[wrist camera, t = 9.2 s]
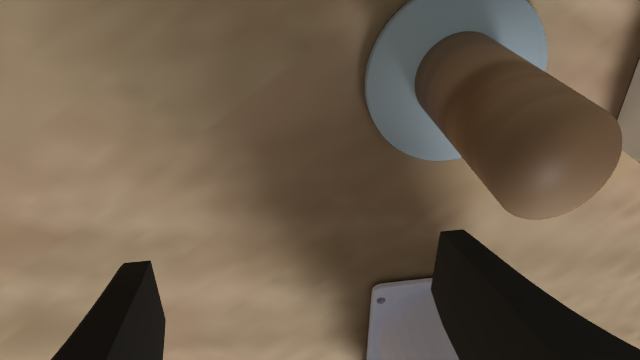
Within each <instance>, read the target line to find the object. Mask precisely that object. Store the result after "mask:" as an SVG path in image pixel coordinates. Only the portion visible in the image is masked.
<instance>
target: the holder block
mask: <svg viewBox="0 0 640 360" xmlns="http://www.w3.org/2000/svg"><path fill="white" fill-rule="evenodd" d="M617 122H618V124H619V126H620V129H621V132H622V151H624V152H625V153H626V154H628V155H629V156H631V157H632V158H634V159H635V160H636V161H638V162H639V163H640V59H639V62H638V65H637V67H636V70H635V73H634V76H633V78H632V81H631V84H630V86H629V89H628V92H627V95H626V97H625V100H624V103H623V106H622V108H621V111H620V114H619V117H618V119H617Z"/></svg>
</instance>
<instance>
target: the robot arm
mask: <svg viewBox="0 0 640 360" xmlns="http://www.w3.org/2000/svg"><path fill="white" fill-rule="evenodd" d="M381 297H382V298H381ZM379 298H381V299H379ZM164 335H165V316H164V312H163V308H162V304H161V300H160V296H159V292H158V288H157V284H156V280H155V276H154V272H153V268H152V264H151V261H141V262H131V263H124V264H123V265H122V266H121V267H120V268H119V270H118V271H117V273H116V274H115V275H114V277H113V278H112V280H111V281H110V283H109V284H108V286H107V287H106V288H105V290H104V291H103V293H102V294H101V296H100V297H99V298H98V300H97V301H96V303H95V304H94V305H93V307H92V308H91V309H90V311H89V312H88V313H87V315H86V316H85V317H84V319H83V320H82V321H81V323H80V324H79V325H78V327H77V328H76V329H75V331H74V332H73V333H72V335H71V336H70V337H69V338H68V340H67V341H66V342H65V343H64V345H63V346H62V347H61V348H60V349H59V351H58V352H57V353H56V354H55V355H54V357H53V358H52V359H51V360H163V349H164ZM366 360H640V349H638V348H636V347H634V346H632V345H630V344H628V343H626V342H625V341H623V340H621V339H619V338H617V337H616V336H614V335H612V334H610V333H609V332H607V331H605V330H604V329H602V328H600V327H598V326H597V325H595V324H593V323H592V322H590V321H588V320H587V319H585V318H583V317H582V316H580V315H579V314H577V313H575V312H574V311H572V310H571V309H569V308H568V307H566V306H565V305H563V304H562V303H560V302H559V301H557V300H556V299H554V298H553V297H552V296H550V295H549V294H547V293H546V292H544V291H543V290H542V289H540V288H539V287H537V286H536V285H535V284H533V283H532V282H530V281H529V280H528V279H526V278H525V277H524V276H522V275H521V274H520V273H518V272H517V271H516V270H515V269H513V268H512V267H511V266H509V265H508V264H507V263H505V262H504V261H503V260H502V259H500V258H499V257H498V256H497V255H495V254H494V253H493V252H492V251H490V250H489V249H488V248H486V247H485V246H484V245H483V244H481V243H480V242H479V241H478V240H476V239H475V238H474V237H473V236H471V235H470V234H469V233H467V232H466V231H465V230H453V231H443V232H440V238H439V243H438V249H437V255H436V261H435V267H434V273H433V278H426V279H417V280H408V281H399V282H390V283H381V284H377V285H376V286H374V287H373V289H372V294H371V307H370V319H369V332H368V344H367V357H366Z"/></svg>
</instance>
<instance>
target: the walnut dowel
mask: <svg viewBox="0 0 640 360" xmlns="http://www.w3.org/2000/svg"><path fill="white" fill-rule="evenodd" d="M415 94H416V98H417V100H418V102H419V104H420V106H421V107H422V108H423V110H424V111H425V112H426V113H427V115H428V116H429V117H430V118H431V120H432V121H433V122H434V123H435V124H436V126H437V127H438V128H439V129H440V131H441V132H442V133H443V134H444V135H445V137H446V138H447V139H448V140H449V142H450V143H451V144H452V145H453V147H454V148H455V149H456V150H457V151H458V153H459V154H460V155H461V156H462V158H463V159H464V160H465V161H466V162H467V164H468V165H469V166H470V167H471V169H472V170H473V171H474V172H475V174H476V175H477V176H478V177H479V178H480V180H481V181H482V182H483V183H484V185H485V186H486V187H487V188H488V190H489V191H490V192H491V193H492V194H493V196H494V197H495V198H496V199H497V201H498V202H499V203H500V204H501V205H502V207H503V208H504V209H505V210H506V211H508V212H509V213H511V214H512V215H514V216H517V217H519V218H524V219H531V220H541V219H548V218H552V217H556V216H559V215H562V214H565V213H567V212H569V211H571V210H573V209H575V208H577V207H579V206H580V205H582V204H583V203H585V202H586V201H587V200H589V199H590V198H591V197H592V196H594V195H595V194H596V193H597V192H598V191H599V190H600V189H601V188H602V187H603V185H604V184H605V183H606V182H607V180H608V179H609V178H610V176H611V175H612V173H613V171H614V170H615V168H616V166H617V163H618V161H619V158H620V155H621V150H622V132H621V129H620V126H619V124H618V122H617V120H616V119H615V118H614V117H613V115H611V114H610V113H609V112H608V111H606V110H605V109H603V108H602V107H600V106H598V105H597V104H595V103H594V102H592V101H590V100H589V99H587V98H586V97H584V96H582V95H581V94H579V93H578V92H576V91H575V90H573V89H571V88H570V87H568V86H567V85H565V84H563V83H562V82H560V81H559V80H557V79H556V78H554V77H552V76H551V75H549V74H548V73H546V72H544V71H543V70H541V69H540V68H538V67H536V66H535V65H533V64H532V63H530V62H529V61H527V60H525V59H524V58H522V57H521V56H519V55H517V54H516V53H514V52H513V51H511V50H510V49H508V48H506V47H505V46H503V45H502V44H500V43H498V42H497V41H495V40H494V39H492V38H491V37H489V36H487V35H485V34H483V33H480V32H475V31H463V32H458V33H454V34H452V35H449V36H447V37H445V38H443V39H442V40H440V41H439V42H437V43H436V44H435V45H434V46H433V47H432V48H431V49H430V50H429V51H428V52H427V53H426V55H425V56H424V57H423V59H422V61H421V62H420V64H419V67H418V69H417V72H416V76H415Z"/></svg>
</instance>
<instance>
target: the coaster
mask: <svg viewBox="0 0 640 360" xmlns="http://www.w3.org/2000/svg"><path fill="white" fill-rule="evenodd" d="M463 31H475V32H480V33H483V34H485V35H487V36H489V37H491V38H492V39H494V40H495V41H497V42H498V43H500V44H502V45H503V46H505V47H506V48H508V49H510V50H511V51H513V52H514V53H516V54H517V55H519V56H521V57H522V58H524V59H525V60H527V61H529V62H530V63H532V64H533V65H535V66H536V67H538V68H540V69H541V70H543V71H544V72H545V70H546V65H547V40H546V35H545V31H544V28H543V25H542V22H541V20H540V18H539V16H538V15H537V13H536V11H535V10H534V9H533V7H532V6H531V5H530V4H529V3H528V1H526V0H410V1H408V2H407V3H406V4H405V5H404V6H402V7H401V8H400V9H399V10H398V11H397V12H396V13H395V14H394V15H393V16H392V17H391V19H390V20H389V21H388V22H387V23H386V25H385V26H384V28H383V29H382V31H381V32H380V34H379V35H378V37H377V39H376V41H375V43H374V45H373V47H372V50H371V53H370V55H369V58H368V62H367V66H366V72H365V80H364V85H365V98H366V103H367V107H368V110H369V113H370V115H371V117H372V119H373V121H374V123H375V125H376V127H377V128H378V130H379V131H380V133H381V134H382V136H383V137H384V138H385V139H386V140H387V141H388V142H389V143H390V144H391V145H392V146H394V147H395V148H396V149H398V150H399V151H401V152H403V153H405V154H407V155H410V156H412V157H415V158H419V159H423V160H430V161H447V160H454V159H459V158H462V156H461V155H460V154H459V153H458V151H457V150H456V149H455V148H454V147H453V145H452V144H451V143H450V142H449V140H448V139H447V138H446V137H445V135H444V134H443V133H442V132H441V131H440V129H439V128H438V127H437V126H436V124H435V123H434V122H433V121H432V120H431V118H430V117H429V116H428V115H427V113H426V112H425V111H424V110H423V108H422V107H421V106H420V104H419V102H418V100H417V98H416V94H415V76H416V72H417V69H418V67H419V64H420V62H421V61H422V59H423V57H424V56H425V55H426V53H427V52H428V51H429V50H430V49H431V48H432V47H433V46H434V45H435V44H436V43H437V42H439V41H440V40H442V39H443V38H445V37H447V36H449V35H452V34H454V33H458V32H463Z"/></svg>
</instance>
